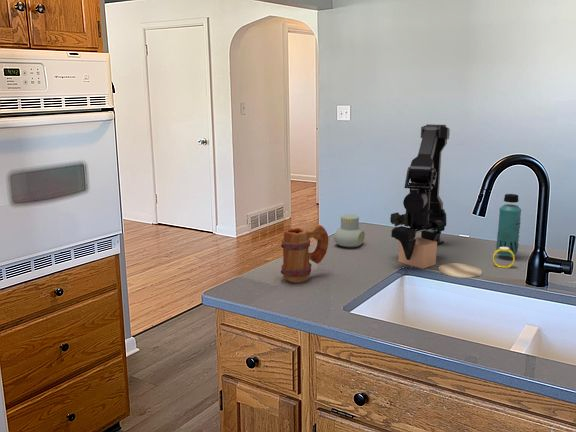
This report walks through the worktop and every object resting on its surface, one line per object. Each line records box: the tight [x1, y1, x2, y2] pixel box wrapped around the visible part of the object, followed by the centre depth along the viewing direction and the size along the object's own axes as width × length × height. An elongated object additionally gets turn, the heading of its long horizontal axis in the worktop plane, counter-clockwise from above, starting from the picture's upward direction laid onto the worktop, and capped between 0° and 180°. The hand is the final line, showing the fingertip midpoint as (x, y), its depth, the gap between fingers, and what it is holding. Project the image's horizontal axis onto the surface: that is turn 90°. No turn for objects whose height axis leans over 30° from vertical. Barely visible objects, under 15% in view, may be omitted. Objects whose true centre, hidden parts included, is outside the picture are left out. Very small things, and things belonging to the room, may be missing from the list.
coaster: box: [438, 262, 483, 279], centre depth 167 cm, size 12×12×1 cm
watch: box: [492, 247, 516, 269], centre depth 170 cm, size 6×3×6 cm, turn 71°
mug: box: [280, 223, 330, 284], centre depth 160 cm, size 15×8×15 cm, turn 118°
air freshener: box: [333, 214, 366, 248], centre depth 193 cm, size 11×8×10 cm
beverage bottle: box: [495, 193, 522, 257], centre depth 177 cm, size 6×7×20 cm
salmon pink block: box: [397, 236, 438, 269], centre depth 174 cm, size 6×9×7 cm
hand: (417, 256), depth 174 cm, fingers open, 8 cm apart
